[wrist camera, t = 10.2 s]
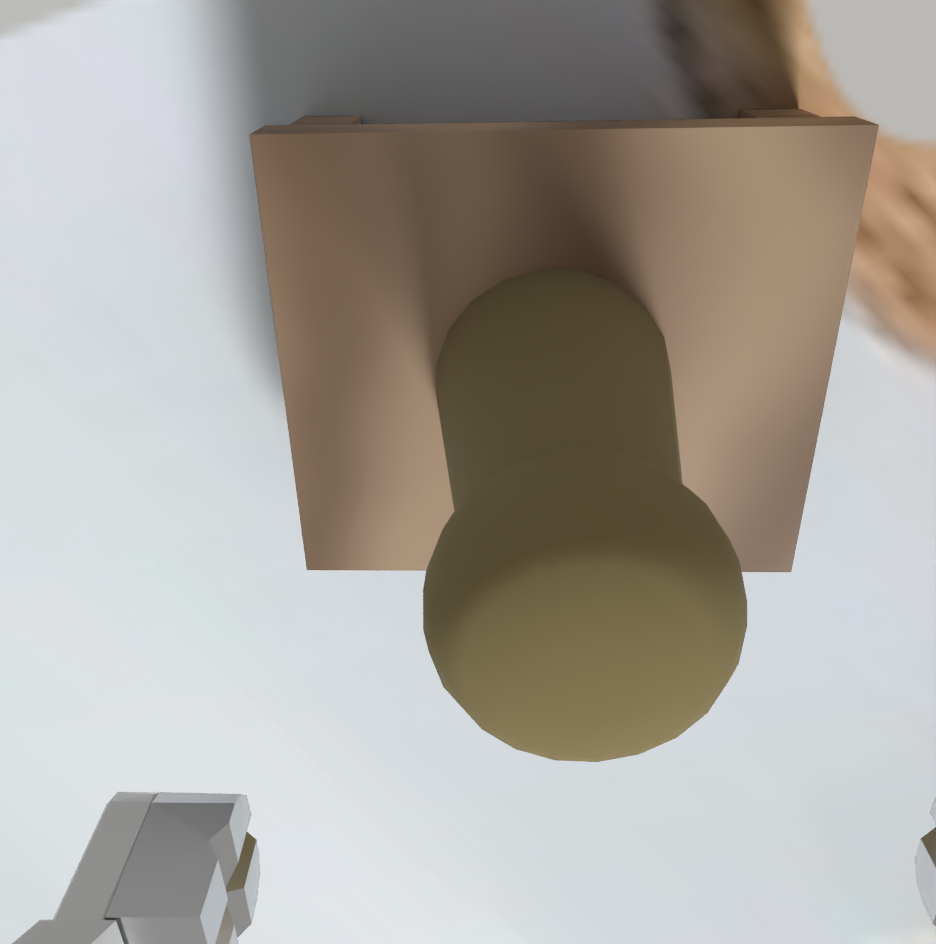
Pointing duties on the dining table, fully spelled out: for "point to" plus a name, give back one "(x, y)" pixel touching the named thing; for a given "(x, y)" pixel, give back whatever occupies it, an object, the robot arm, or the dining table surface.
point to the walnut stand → (557, 248)
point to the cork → (573, 529)
